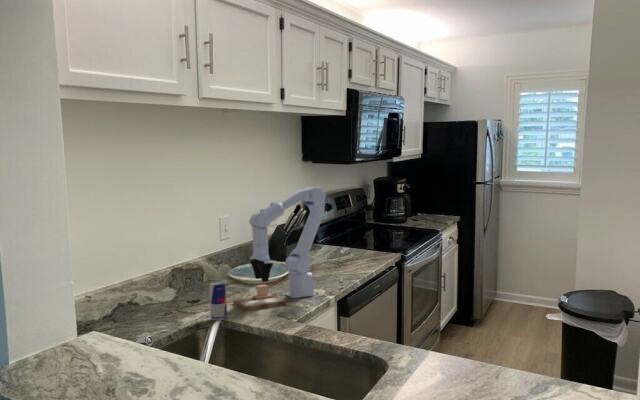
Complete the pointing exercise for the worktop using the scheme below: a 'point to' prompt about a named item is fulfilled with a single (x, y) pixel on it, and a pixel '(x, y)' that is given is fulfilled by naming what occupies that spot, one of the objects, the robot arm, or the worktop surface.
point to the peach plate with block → (262, 292)
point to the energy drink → (218, 301)
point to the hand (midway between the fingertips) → (261, 280)
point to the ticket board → (259, 303)
